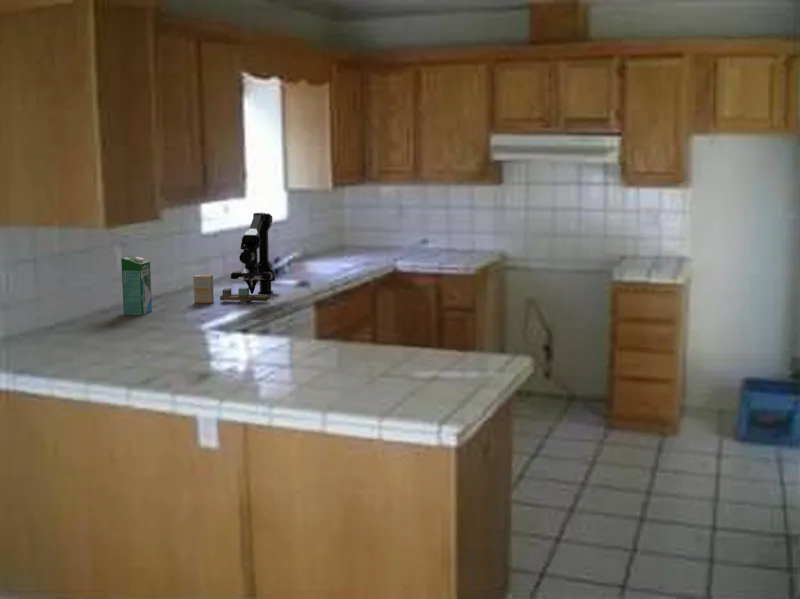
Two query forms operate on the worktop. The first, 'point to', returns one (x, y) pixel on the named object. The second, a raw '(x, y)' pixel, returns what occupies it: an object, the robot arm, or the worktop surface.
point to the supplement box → (203, 289)
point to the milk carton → (136, 285)
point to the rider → (243, 291)
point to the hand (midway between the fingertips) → (252, 293)
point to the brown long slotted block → (242, 297)
